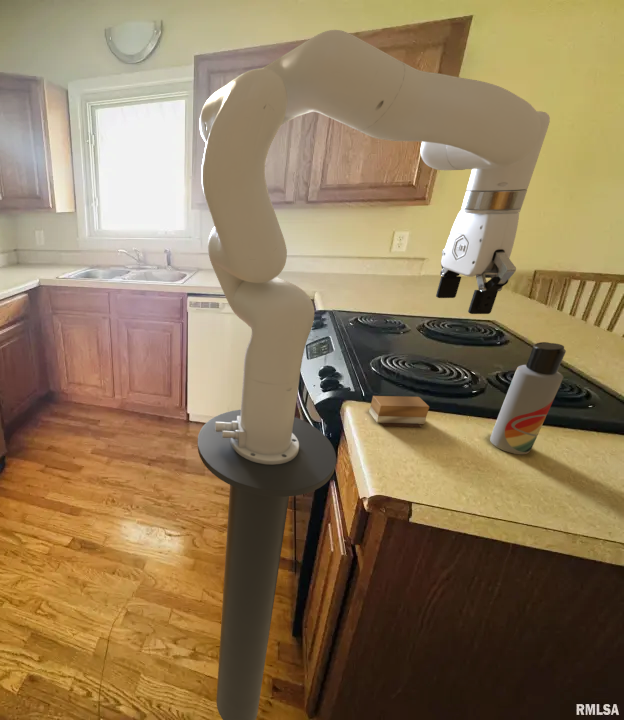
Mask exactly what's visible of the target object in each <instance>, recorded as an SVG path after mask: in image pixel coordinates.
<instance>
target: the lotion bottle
mask: <svg viewBox="0 0 624 720" xmlns="http://www.w3.org/2000/svg"><path fill="white" fill-rule="evenodd" d="M566 353H567V350H566V349H565V346H564V345H563V344H560V343H555V342H547V341H542V342H537V343H535V344H534V345H533V346H532V349H531V352H530V354H529V357H528V360H527V362H526V364H521V365H518V366H517V368H516V370H515V371H514V375H513V377H512V379H511V382H510V385H509V387H508V390H507V391H506V395H505V398H504V400H503V403H502V405H501V408H500V410H499V413H498V415H497V418H496V421H495V422H494V423H495V424H494V426H493V428H492V432H491V434H490V437H489V441H490V443H491V444H492V445H493V446H494V447H496V448H498V449H499V450H501V451H503V452H506V453H510V454H514V455H527V454H529V453H530V452H531V450H532V448H534V447H533V446H534V445H535V442H536V441H537V438H538V435H539V434H540V431H541V429H542V426H543V424H544V422H545V420H546V419H547V418H546V417H547V415H548V413H549V411H550V409H551V406H552V404H553V402H554V401H555V398H556V395H557V393H558V391H559V388H560V386H561V384H562V383H563V379H564V375H563V374H562V373H561V372H559V371H558V370H559V368H560V366H561V363H562V362H563V359H564V357H565V355H566Z"/></svg>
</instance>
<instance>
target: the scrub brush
mask: <svg viewBox="0 0 624 720" xmlns="http://www.w3.org/2000/svg"><path fill="white" fill-rule="evenodd" d="M429 410H430V406H429V404H427V403H426V402H425V401H424V400H423V399H422V397H420V396H405V395H403V396H401V395H400V396H399V395H372V397H371V402H370V406H369V411H368V413H369V414H370V415H371V417H372V418H373V419H374V421H375V422H376V423H379V424H382V423H415V424H419V425H424V424H425V423H426V420H427V416H428V413H429Z"/></svg>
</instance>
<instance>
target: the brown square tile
mask: <svg viewBox="0 0 624 720" xmlns="http://www.w3.org/2000/svg"><path fill="white" fill-rule="evenodd" d="M381 425H382V426H383V427H386V428H387V427H388V428H422V425H421V424H415V423H381Z"/></svg>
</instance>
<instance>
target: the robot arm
mask: <svg viewBox="0 0 624 720" xmlns="http://www.w3.org/2000/svg"><path fill="white" fill-rule="evenodd" d="M312 112H313V113H318V114H320V115H323V116H325V117H328V118H330V119H331V120H334V121H337V122H338V123H341V124H343V125H345V126H347V127H349V128H351V129H354V130H356V131H358V132H360V133H362V134H364V135H366V136H369V137H371V138H373V139H378V140H383V141H392V142H421V145H420V157H421V160H422V161H423V163H424V164H425V165H426V166H428V167H429V168H432V169H433V170H438V171H464V170H471V171H470V175H469V180H468V183H467V186H466V191H465V194H464V197H463V201H462V205H461V207H460V210H459V212H458V213H457V216H456V218H455V220H454V222H453V225H452V227H451V230H450V233H449V235H448V238H447V240H446V244H445V247H444V249H442V250H441V259H440V260H441V261H440V266H441V270H440V273H439V274H440V276H441V277H440V280H439V283H438V286H437V290H436V295H435V297H436V298H437V299H454V298H456V297H457V293H458V291H459V287H460V283H461V280H462V276H464V277H469V278H473V277H475V279H476V284H477V288H478V289H474V292H473V294H472V297H471V300H470V304H469V307H468V310H467V312H468V314H470V315H489V314H491V313H492V311H493V308H494V305H495V302H496V298H497V295H498V293H499V292H501V291H502V289H503V287H505V286H506V285H507V284H508V283H509V280H510V279H511V278H512V276H513V275H514V274H515V273H516V271H517V267H516V266H515V264H514V263H513V262H512V260H511V259H510V258H511V254H512V252H513V248H514V243H515V239H516V236H517V231H518V226H519V219H520V213H521V210H522V207H523V204H524V201H525V199H526V195H527V192H528V189H529V186H530V183H531V179H532V177H533V174H534V171H535V169H536V165H537V162H538V160H539V156H540V154H541V151H542V147H543V145H544V141H545V138H546V135H547V131H548V129H549V126H550V123H551V121H550V119H551V118H550V115H549V113H547V112H545V111H542V110H541V111H540V110H539V111H538V110H536V109H535V107H534V106H533V105H532V104H531V103H530V102H528V101H527V100H526V99H524V98H522V97H520V96H518V95H517V94H515V93H514V92H512V91H510V90H508V89H506V88H504V87H502V86H499V85H496V84H493V83H490V82H486V81H481V80H476V79H472V78H465V77H459V76H452V75H449V74H444V73H439V72H430V71H425V70H419V69H417V68H414V67H412V66H411V65H409V64H408V63H405V62H403V61H402V60H399V59H397V58H395V57H394V56H393V55H390V54H389V53H386V52H384V51H383V50H381V49H379V48H377V47H376V46H374V45H372V44H370V43H369V42H367V41H365V40H363V39H361V38H359V37H358V36H356V35H354V34H352V33H351V32H350V33H349V32H347V31H344V30H341V29H329V30H324V31H322V32H321V33H318V34H316V35H314V36H312V37H311V38H309V39H307V40H306V41H304V42H302V43H301V44H299V45H297V46H296V47H295V48H292V49H291V50H289V51H288V52H286V53H285V54H283V55H282V56H280V57H278V58H277V59H275V60H274V61H272V62H270V63H268V64H267V65H264V66H263V67H261V68H255V69H250V70H248V71H246V72H243V73H242V74H240V75H238V76H237V77H235V78H234V79H232V80H231V81H229V82H228V83H226V84H225V85H224V86H222V87H221V88H219V89H217V90H216V91H215V92H213V93H212V94H211V95H210V96H209V98H208V99H206V101H205V103H204V105H203V106H202V109H201V111H200V115H199V123H198V124H199V132H200V136H201V138H202V139H203V141H204V142H205V147H204V153H203V156H202V157H203V158H202V164H201V187H202V192H203V195H204V199H205V203H206V205H207V208H208V209H207V210H208V212H209V215H210V217H211V220H212V223H213V228H212V230H211V231H210V234H209V237H208V240H207V252H208V258H209V261H210V263H211V267H212V268H213V271H214V273H215V275H216V278H217V280H218V283H219V285H220V287H221V289H222V292H223V294H224V296H225V299H226V301H227V303H228V304H229V307H230V309H231V311H232V312H233V313H234V314H235V315H236V317H238V318H239V319H240V320H241V321H242V322H243V323H245V324H246V325H247V326H248V327H249V328H250V329H251V336H250V339H249V342H248V344H247V347H246V349H245V353H244V359H243V376H242V388H241V389H242V390H241V401H240V402H241V404H240V410H241V416H237V421H232V423H228V422H215V431H216V432H222V438H231V445H232V447H233V449H234V450H235V451H236V452H237V453H238V454H239V455H241V456H242V457H244V458H246V459H248V460H250V461H253V462H256V463H260V464H268V465H275V464H282V463H286V462H288V461H291V460H292V459H294V458H295V457H296V455H297V454H298V451H299V441H298V439H297V438H296V436H295V435H294V434H293V433H292V430H293V422H294V417H295V414H296V406H297V399H298V392H299V385H300V378H301V372H302V371H301V369H302V364H303V358H304V353H305V349H306V345H307V341H308V338H309V336H310V333H311V331H312V328H313V326H314V322H315V306H314V303H313V301H312V299H311V298H310V296H309V294H308V293H307V292H306V291H305V290H303V289H302V288H301V287H299V286H298V285H296V284H294V283H292V282H290V281H288V280H285V279H283V278H280V277H278V276H279V275H281V273H282V272H283V270H284V268H285V266H286V262H287V256H288V249H287V244H286V239H285V238H284V235H283V231H282V228H281V226H280V223H279V220H278V217H277V215H276V214H277V213H276V212H275V208H274V205H273V203H272V199H271V197H270V193H269V189H268V185H267V180H266V162H267V158H268V154H269V150H270V147H271V146H272V143H273V141H274V139H275V138H276V135H277V134H278V132H279V130H280V129H281V127H282V126H283V125H284V124H286V123H288V122H290V121H291V120H293V119H296V118H298V117H300V116H304V115H306V114H309V113H312ZM460 275H462V276H460ZM487 279H488V281H487Z"/></svg>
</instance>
